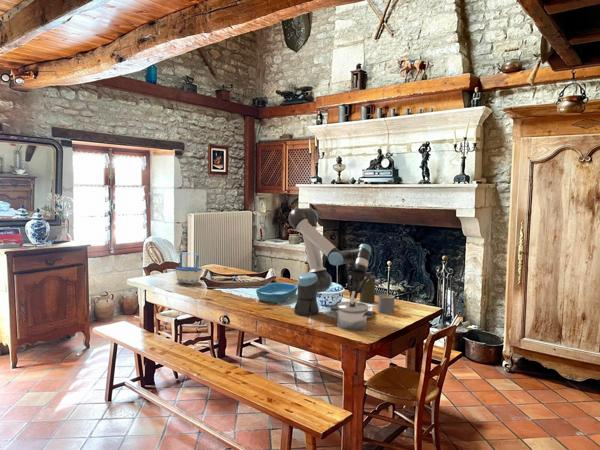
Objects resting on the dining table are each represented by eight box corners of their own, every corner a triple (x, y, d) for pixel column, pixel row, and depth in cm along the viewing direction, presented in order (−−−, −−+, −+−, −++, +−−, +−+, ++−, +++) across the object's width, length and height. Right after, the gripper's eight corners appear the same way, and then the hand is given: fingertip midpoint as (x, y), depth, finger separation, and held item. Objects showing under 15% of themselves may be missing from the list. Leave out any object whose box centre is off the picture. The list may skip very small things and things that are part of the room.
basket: (204, 283, 331) (205, 253, 329) (187, 286, 318) (187, 255, 316) (188, 279, 344) (189, 250, 342) (171, 282, 331) (171, 252, 329)
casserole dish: (280, 305, 271) (281, 294, 270) (250, 301, 279) (250, 290, 279) (301, 294, 305) (302, 284, 305) (274, 290, 313) (274, 281, 313)
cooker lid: (332, 309, 226) (333, 303, 226) (342, 302, 242) (342, 296, 242) (363, 314, 220) (364, 307, 219) (371, 306, 236) (371, 300, 236)
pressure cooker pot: (326, 326, 229) (327, 308, 228) (336, 319, 243) (336, 302, 243) (369, 333, 220) (369, 314, 219) (375, 325, 234) (376, 307, 234)
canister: (374, 303, 283) (375, 274, 281) (358, 302, 285) (360, 273, 283) (374, 300, 293) (376, 271, 292) (359, 298, 295) (361, 270, 294)
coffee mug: (392, 314, 257) (393, 298, 256) (376, 312, 261) (376, 296, 260) (396, 309, 269) (396, 294, 269) (380, 307, 273) (381, 292, 272)
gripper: (372, 272, 241) (364, 308, 227) (350, 270, 246) (341, 305, 232) (370, 264, 236) (362, 300, 222) (348, 262, 241) (338, 297, 227)
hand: (351, 302), depth 227 cm, fingers closed
